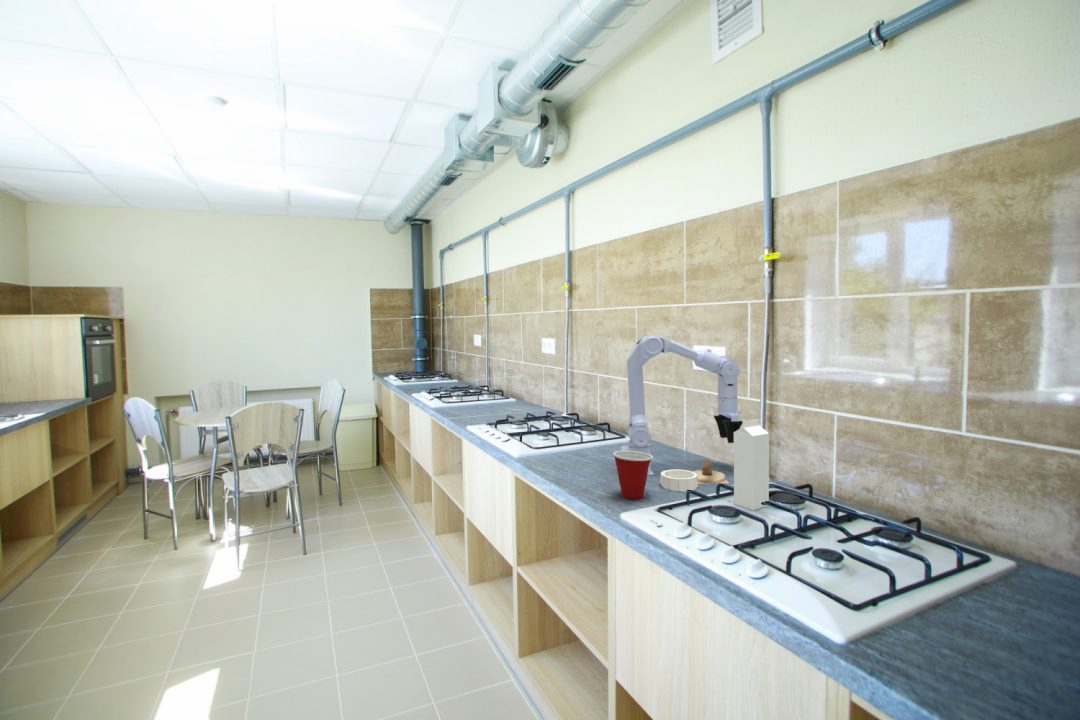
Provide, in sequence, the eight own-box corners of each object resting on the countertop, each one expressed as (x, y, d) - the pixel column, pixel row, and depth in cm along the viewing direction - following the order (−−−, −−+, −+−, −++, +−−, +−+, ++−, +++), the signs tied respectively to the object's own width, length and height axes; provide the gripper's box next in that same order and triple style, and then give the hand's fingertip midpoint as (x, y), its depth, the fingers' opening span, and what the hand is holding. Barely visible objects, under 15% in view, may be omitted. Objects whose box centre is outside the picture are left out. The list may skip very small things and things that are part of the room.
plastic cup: (660, 500, 137) (660, 456, 136) (623, 504, 134) (623, 459, 133) (642, 488, 147) (641, 447, 146) (607, 492, 144) (606, 450, 144)
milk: (733, 504, 132) (732, 420, 131) (749, 499, 135) (748, 417, 134) (753, 510, 127) (752, 423, 126) (769, 506, 130) (768, 420, 129)
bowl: (665, 493, 142) (664, 479, 142) (658, 482, 152) (658, 469, 152) (701, 493, 142) (701, 478, 141) (692, 482, 152) (692, 469, 151)
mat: (694, 485, 149) (694, 483, 149) (686, 475, 159) (686, 473, 158) (729, 485, 148) (729, 483, 148) (719, 475, 158) (719, 473, 158)
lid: (694, 483, 149) (694, 465, 148) (686, 473, 158) (686, 457, 158) (729, 483, 148) (729, 465, 148) (719, 473, 158) (719, 456, 158)
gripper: (748, 400, 153) (749, 445, 154) (732, 394, 168) (733, 435, 168) (725, 400, 153) (725, 445, 154) (711, 394, 168) (711, 435, 169)
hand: (727, 440), depth 161 cm, fingers open, 7 cm apart
